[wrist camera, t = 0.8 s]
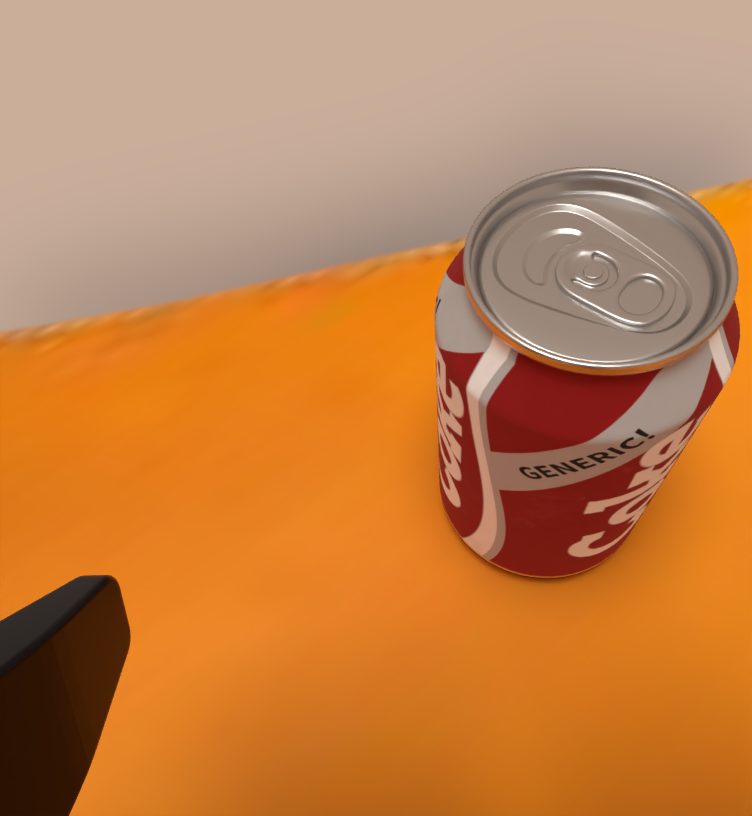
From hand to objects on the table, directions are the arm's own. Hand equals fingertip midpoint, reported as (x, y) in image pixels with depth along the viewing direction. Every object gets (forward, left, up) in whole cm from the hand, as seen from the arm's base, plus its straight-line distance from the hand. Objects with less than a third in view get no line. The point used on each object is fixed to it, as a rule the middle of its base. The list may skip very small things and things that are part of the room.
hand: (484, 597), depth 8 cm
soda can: (+5, -6, -15) cm, 17 cm away
